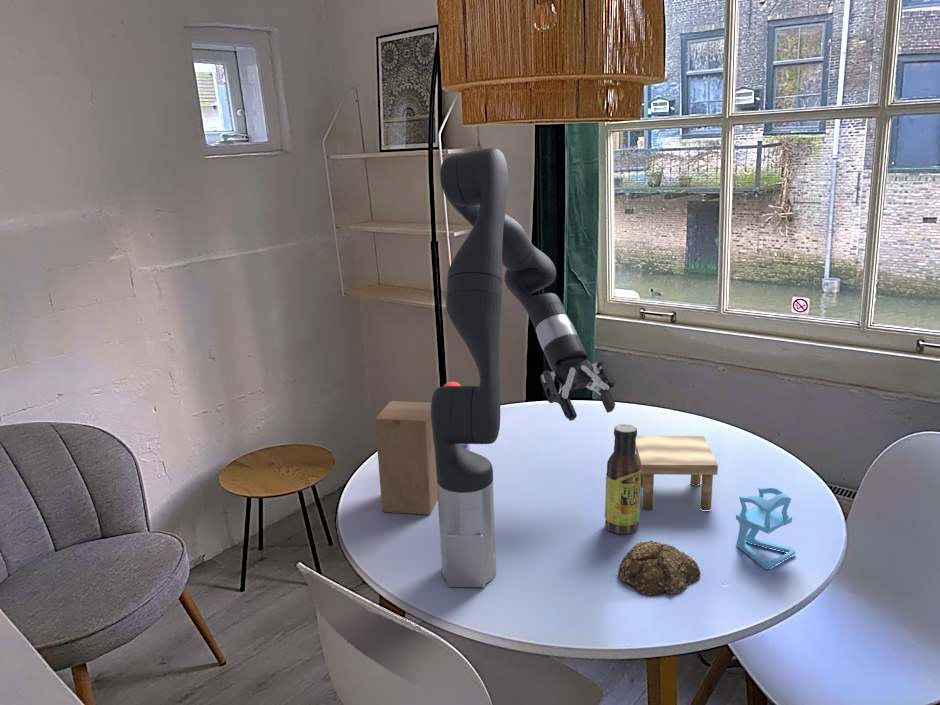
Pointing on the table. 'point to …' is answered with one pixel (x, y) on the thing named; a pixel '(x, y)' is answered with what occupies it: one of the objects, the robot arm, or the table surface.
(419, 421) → the wooden block
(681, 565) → the bread roll
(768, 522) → the chair
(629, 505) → the sauce bottle
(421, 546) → the table surface
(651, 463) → the small wooden side table
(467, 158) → the robot arm
